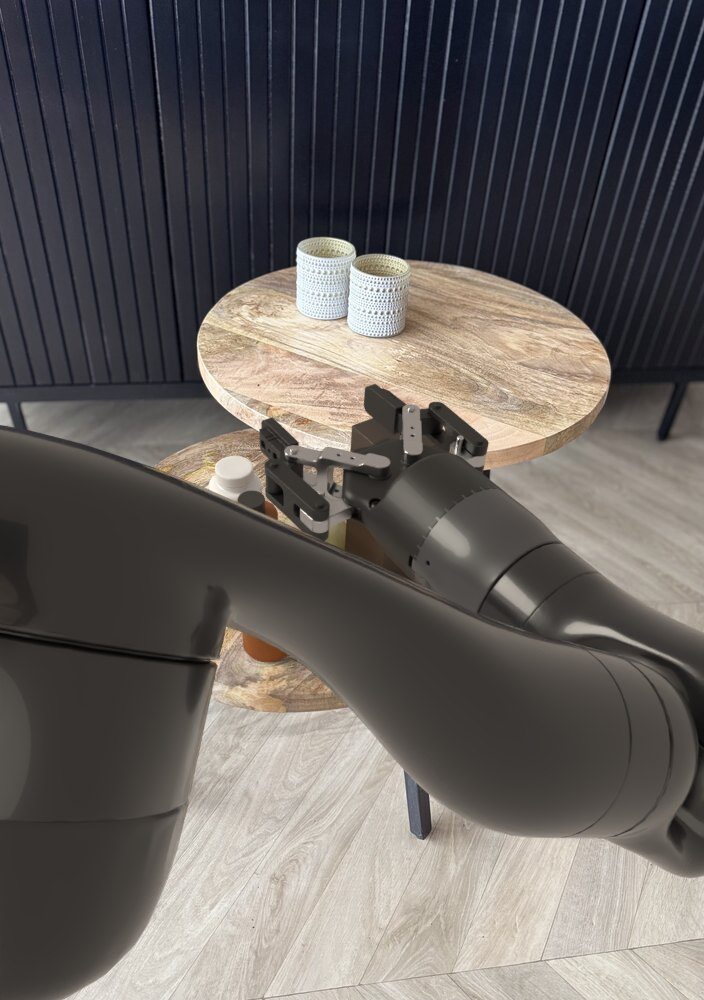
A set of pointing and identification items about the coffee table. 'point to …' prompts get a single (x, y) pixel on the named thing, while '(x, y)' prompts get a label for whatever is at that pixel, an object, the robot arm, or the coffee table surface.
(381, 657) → the robot arm
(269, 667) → the coffee table surface
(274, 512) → the amber bottle
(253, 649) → the amber bottle
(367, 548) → the pedestal
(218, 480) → the supplement bottle
